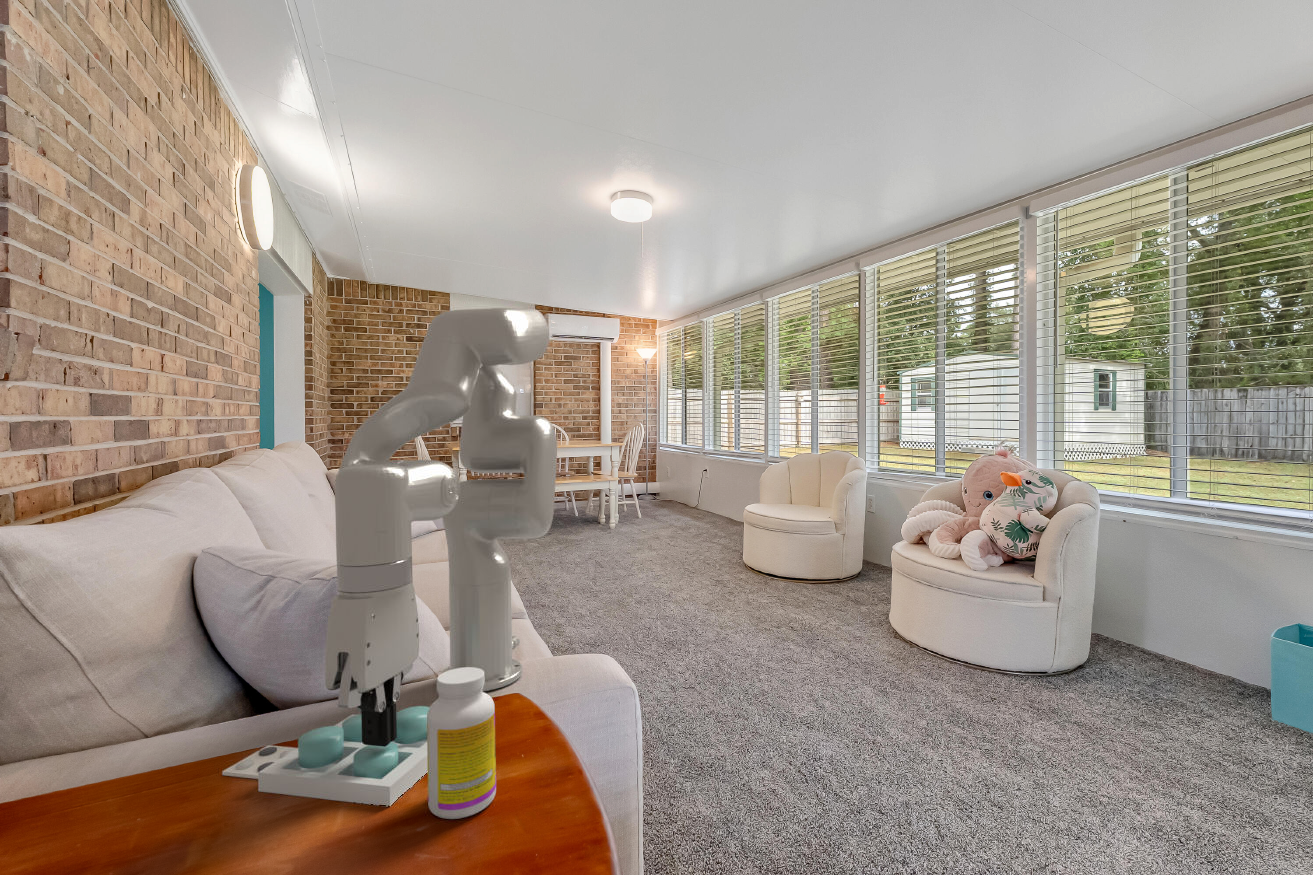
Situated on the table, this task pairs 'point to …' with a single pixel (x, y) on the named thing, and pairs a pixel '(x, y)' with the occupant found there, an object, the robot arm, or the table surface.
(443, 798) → the supplement bottle
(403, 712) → the button
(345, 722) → the button
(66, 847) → the table surface
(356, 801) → the board
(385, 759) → the button
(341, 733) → the button
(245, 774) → the tile
